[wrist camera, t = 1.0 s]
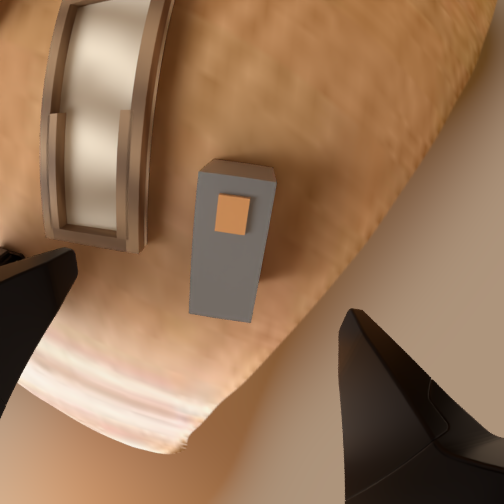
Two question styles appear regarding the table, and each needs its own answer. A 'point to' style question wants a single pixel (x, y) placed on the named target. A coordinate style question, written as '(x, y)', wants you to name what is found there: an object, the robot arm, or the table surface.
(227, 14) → the table surface
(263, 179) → the grey box with label
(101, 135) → the tray
